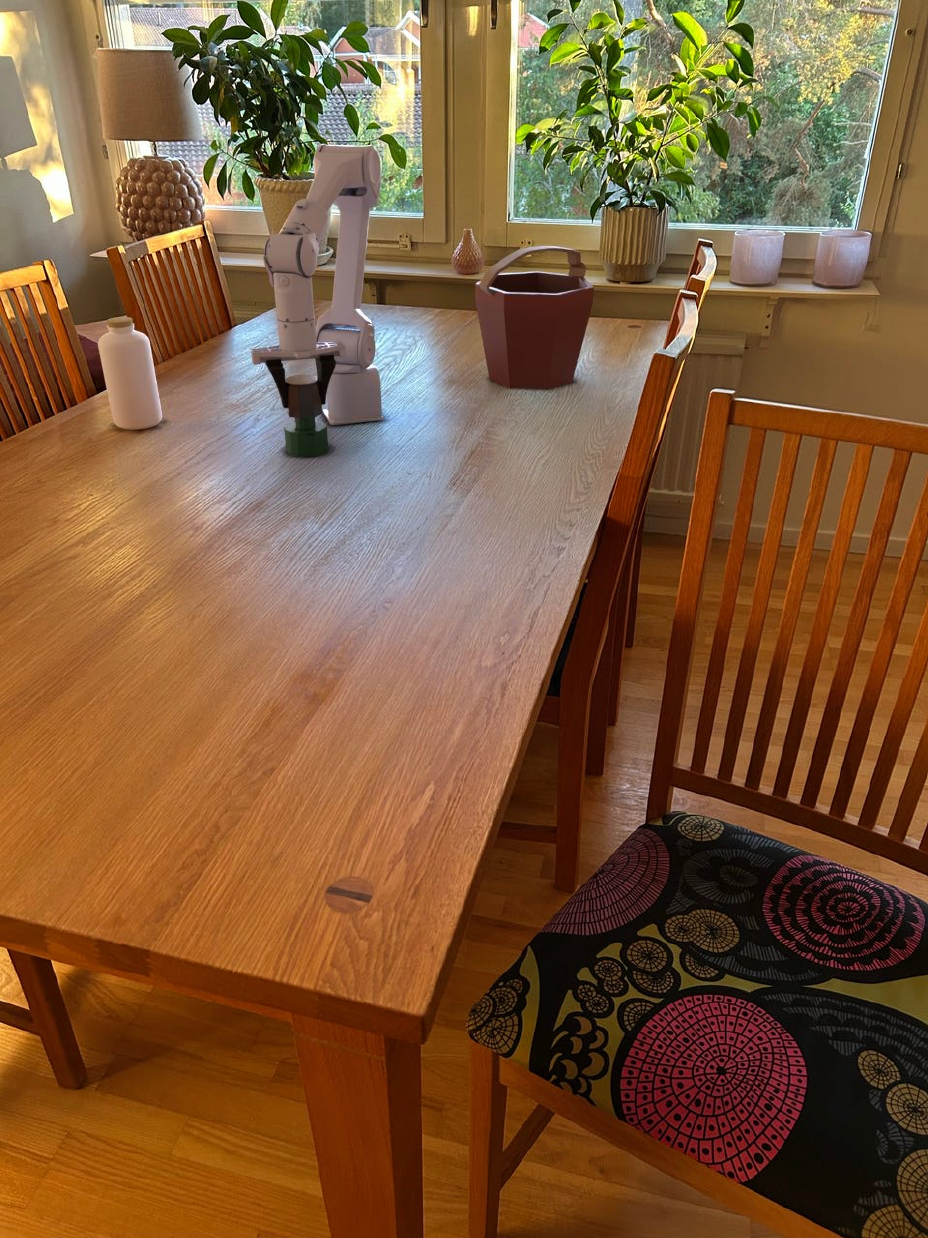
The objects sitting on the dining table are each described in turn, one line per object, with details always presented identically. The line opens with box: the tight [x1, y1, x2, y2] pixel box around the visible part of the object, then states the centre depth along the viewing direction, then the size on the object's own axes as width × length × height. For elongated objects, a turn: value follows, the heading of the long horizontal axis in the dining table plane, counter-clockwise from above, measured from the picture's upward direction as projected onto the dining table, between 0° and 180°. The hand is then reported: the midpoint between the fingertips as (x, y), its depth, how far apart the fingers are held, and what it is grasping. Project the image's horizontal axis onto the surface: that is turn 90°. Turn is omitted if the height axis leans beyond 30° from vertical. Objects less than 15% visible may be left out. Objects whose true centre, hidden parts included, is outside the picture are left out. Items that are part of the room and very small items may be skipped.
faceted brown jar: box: [285, 374, 323, 419], centre depth 148 cm, size 5×5×6 cm
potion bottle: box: [97, 316, 163, 431], centre depth 159 cm, size 8×8×18 cm
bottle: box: [283, 417, 329, 458], centre depth 151 cm, size 7×7×6 cm
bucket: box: [474, 245, 595, 391], centre depth 182 cm, size 24×22×25 cm
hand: (303, 404), depth 149 cm, fingers closed on faceted brown jar, 5 cm apart
